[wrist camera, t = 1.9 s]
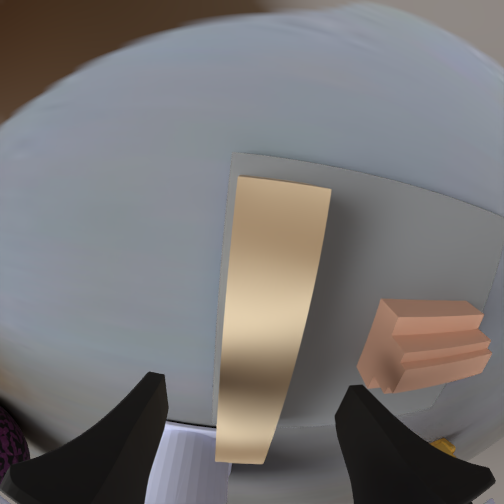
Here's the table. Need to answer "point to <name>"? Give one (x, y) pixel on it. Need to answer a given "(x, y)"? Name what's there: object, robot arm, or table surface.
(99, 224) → the table surface
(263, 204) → the pine batten
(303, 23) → the table surface
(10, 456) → the toy ball
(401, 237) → the board
